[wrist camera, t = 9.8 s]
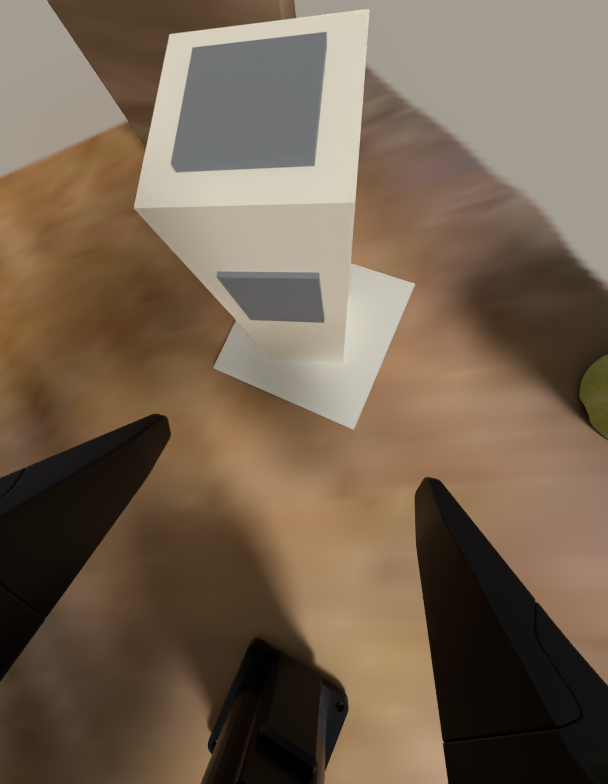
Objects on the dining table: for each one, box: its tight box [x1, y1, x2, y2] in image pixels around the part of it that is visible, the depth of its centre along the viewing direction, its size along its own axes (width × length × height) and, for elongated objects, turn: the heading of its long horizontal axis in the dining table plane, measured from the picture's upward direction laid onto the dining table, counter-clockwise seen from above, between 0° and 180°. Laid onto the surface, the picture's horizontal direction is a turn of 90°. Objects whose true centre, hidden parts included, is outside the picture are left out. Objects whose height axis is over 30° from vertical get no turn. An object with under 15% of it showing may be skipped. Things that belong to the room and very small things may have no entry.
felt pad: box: [213, 264, 415, 430], centre depth 19 cm, size 11×11×1 cm
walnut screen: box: [47, 0, 296, 146], centre depth 16 cm, size 4×14×12 cm, turn 66°
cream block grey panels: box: [134, 9, 370, 364], centre depth 12 cm, size 5×5×13 cm
